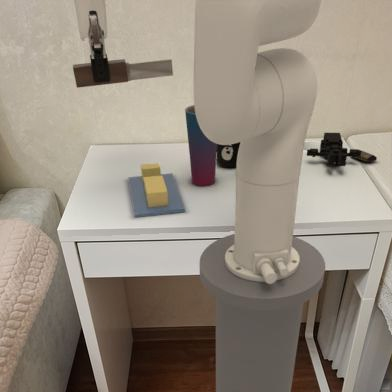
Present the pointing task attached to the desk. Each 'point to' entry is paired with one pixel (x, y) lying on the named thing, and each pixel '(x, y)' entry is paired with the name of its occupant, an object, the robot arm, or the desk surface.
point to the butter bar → (155, 191)
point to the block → (367, 156)
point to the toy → (333, 150)
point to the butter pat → (150, 170)
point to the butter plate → (141, 201)
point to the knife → (123, 72)
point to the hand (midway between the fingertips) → (101, 78)
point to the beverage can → (227, 155)
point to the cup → (200, 151)
